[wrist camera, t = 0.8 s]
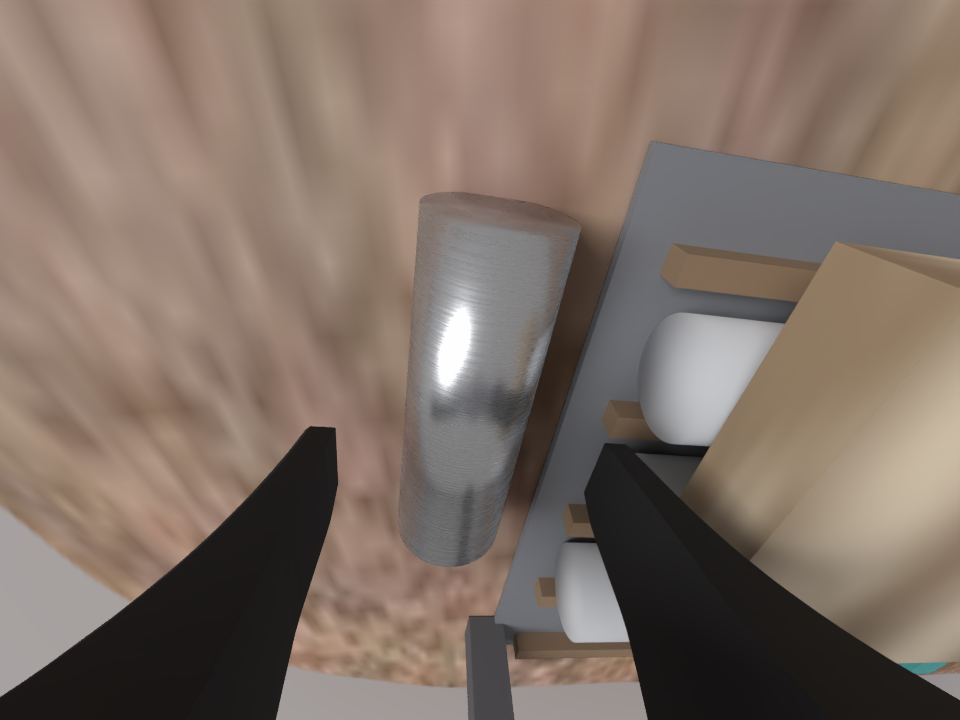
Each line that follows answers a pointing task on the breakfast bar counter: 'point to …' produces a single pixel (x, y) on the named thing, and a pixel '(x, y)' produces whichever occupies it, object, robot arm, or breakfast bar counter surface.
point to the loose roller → (475, 362)
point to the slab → (854, 453)
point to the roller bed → (644, 299)
